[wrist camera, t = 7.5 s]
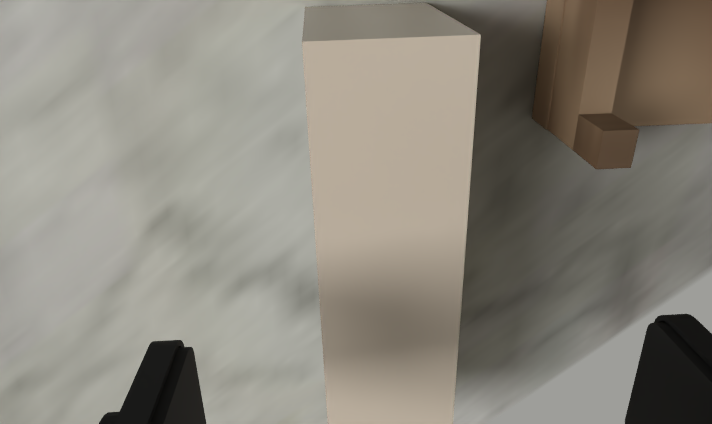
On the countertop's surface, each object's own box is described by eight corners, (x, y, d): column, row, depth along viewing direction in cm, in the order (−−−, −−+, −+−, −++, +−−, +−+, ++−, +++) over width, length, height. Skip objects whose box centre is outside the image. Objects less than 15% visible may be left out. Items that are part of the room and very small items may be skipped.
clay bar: (305, 6, 16) (302, 41, 11) (424, 1, 16) (480, 34, 11) (328, 375, 22) (334, 513, 17) (414, 368, 22) (446, 504, 17)
